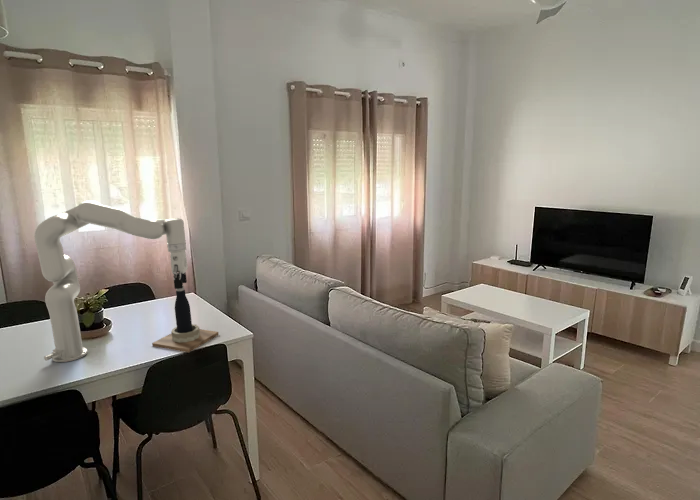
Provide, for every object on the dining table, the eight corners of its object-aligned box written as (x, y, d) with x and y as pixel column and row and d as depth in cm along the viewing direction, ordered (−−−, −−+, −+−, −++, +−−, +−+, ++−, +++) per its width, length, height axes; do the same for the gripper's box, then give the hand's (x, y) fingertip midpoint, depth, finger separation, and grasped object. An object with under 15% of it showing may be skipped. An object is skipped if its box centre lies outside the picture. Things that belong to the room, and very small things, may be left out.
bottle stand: (188, 352, 185) (187, 340, 184) (152, 346, 192) (151, 334, 191) (218, 334, 203) (217, 323, 202) (184, 329, 210) (183, 319, 209)
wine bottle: (189, 340, 194) (182, 275, 188) (175, 340, 194) (168, 275, 188) (195, 334, 200) (188, 271, 194) (181, 334, 200) (174, 271, 194)
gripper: (181, 250, 181) (185, 290, 184) (189, 243, 198) (193, 279, 201) (162, 251, 180) (167, 292, 183) (172, 243, 197) (176, 280, 200)
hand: (180, 285), depth 192 cm, fingers open, 8 cm apart
